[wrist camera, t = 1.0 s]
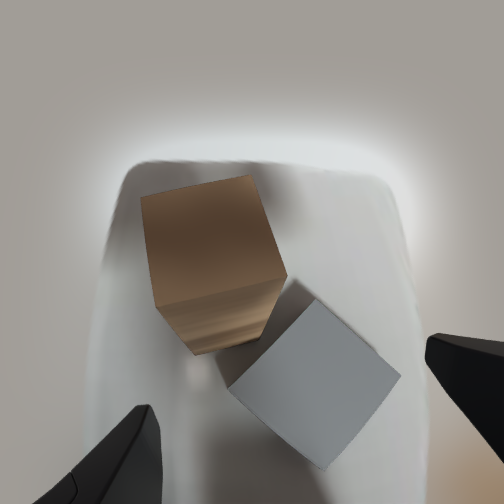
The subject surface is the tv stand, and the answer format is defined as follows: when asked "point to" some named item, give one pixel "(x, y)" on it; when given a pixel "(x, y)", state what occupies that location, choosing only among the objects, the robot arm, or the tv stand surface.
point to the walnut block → (212, 262)
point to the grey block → (316, 385)
